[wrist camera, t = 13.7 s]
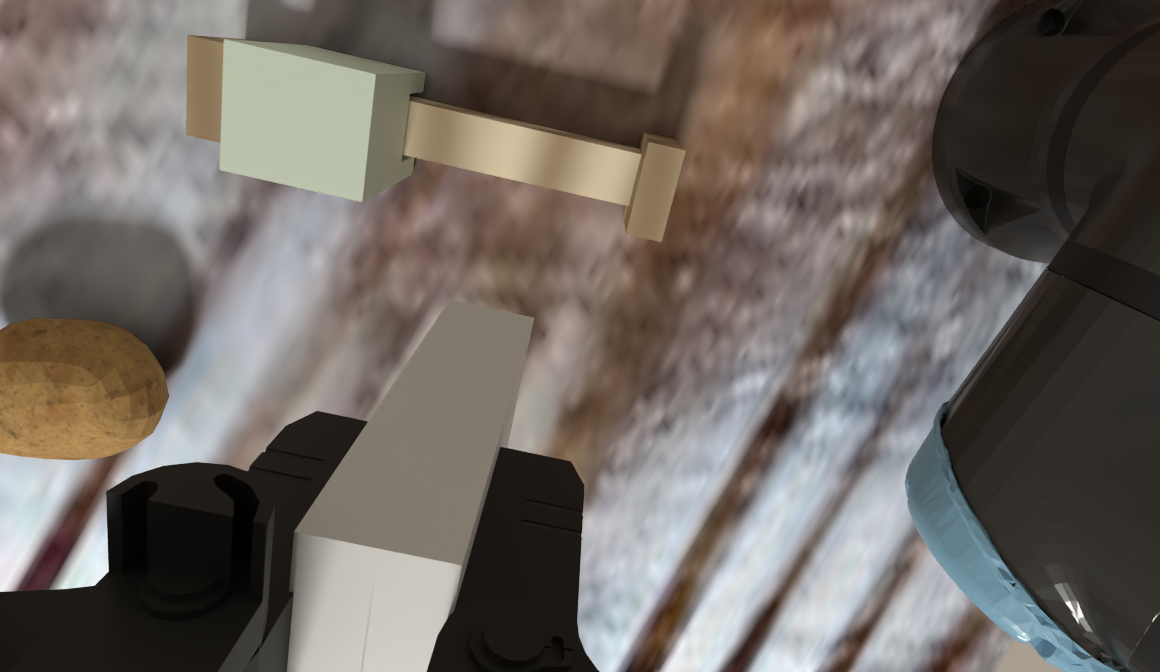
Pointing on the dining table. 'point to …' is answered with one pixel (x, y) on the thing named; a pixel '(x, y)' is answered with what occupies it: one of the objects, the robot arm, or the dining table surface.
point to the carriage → (315, 118)
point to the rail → (494, 147)
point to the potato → (76, 389)
